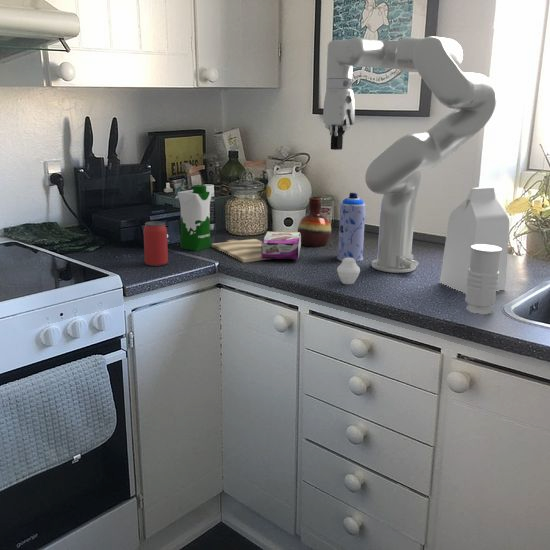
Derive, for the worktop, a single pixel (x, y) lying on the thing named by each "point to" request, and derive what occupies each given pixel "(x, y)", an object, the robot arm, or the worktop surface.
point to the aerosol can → (351, 228)
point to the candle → (482, 278)
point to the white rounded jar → (348, 271)
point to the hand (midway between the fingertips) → (336, 149)
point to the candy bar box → (281, 245)
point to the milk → (474, 237)
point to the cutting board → (242, 249)
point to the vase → (314, 225)
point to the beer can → (155, 243)
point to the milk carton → (195, 218)
